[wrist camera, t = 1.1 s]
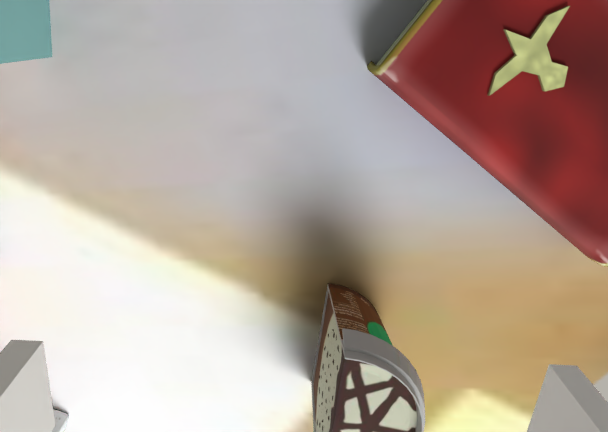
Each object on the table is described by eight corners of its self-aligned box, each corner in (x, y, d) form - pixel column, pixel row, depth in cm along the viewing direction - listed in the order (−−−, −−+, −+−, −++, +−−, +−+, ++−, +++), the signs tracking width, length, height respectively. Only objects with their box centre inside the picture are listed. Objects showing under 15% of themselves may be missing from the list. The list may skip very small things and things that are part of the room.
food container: (381, 402, 41) (409, 514, 31) (309, 397, 40) (316, 508, 31) (411, 273, 36) (455, 359, 27) (330, 265, 36) (346, 350, 26)
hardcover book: (573, 246, 36) (608, 273, 32) (364, 67, 31) (375, 74, 27) (707, 120, 33) (764, 133, 29) (499, -103, 28) (534, -124, 24)
